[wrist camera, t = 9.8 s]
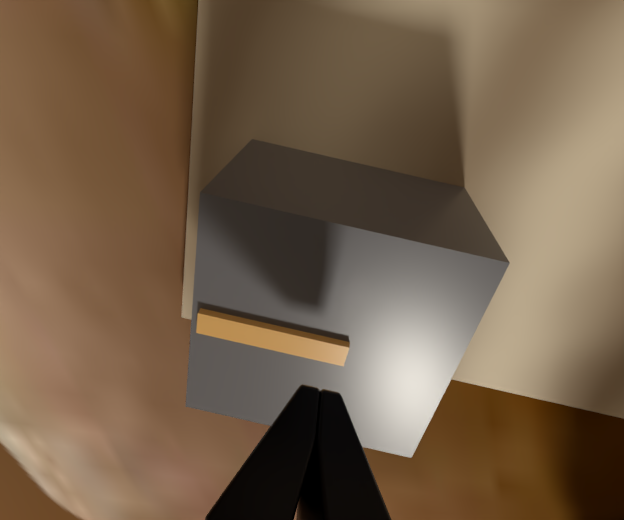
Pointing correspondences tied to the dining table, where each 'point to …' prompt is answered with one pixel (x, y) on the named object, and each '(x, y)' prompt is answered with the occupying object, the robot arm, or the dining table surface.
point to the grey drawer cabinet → (335, 290)
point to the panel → (453, 149)
